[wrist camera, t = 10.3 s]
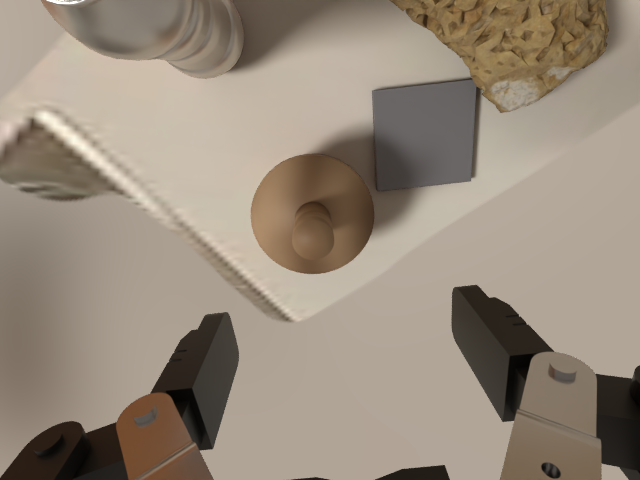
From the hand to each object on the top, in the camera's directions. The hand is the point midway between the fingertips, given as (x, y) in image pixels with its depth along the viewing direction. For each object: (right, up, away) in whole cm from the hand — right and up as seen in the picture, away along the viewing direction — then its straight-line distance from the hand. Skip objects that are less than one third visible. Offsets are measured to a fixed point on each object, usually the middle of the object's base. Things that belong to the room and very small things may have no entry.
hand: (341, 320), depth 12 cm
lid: (-1, +5, +18) cm, 19 cm away
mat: (+9, +12, +20) cm, 25 cm away
